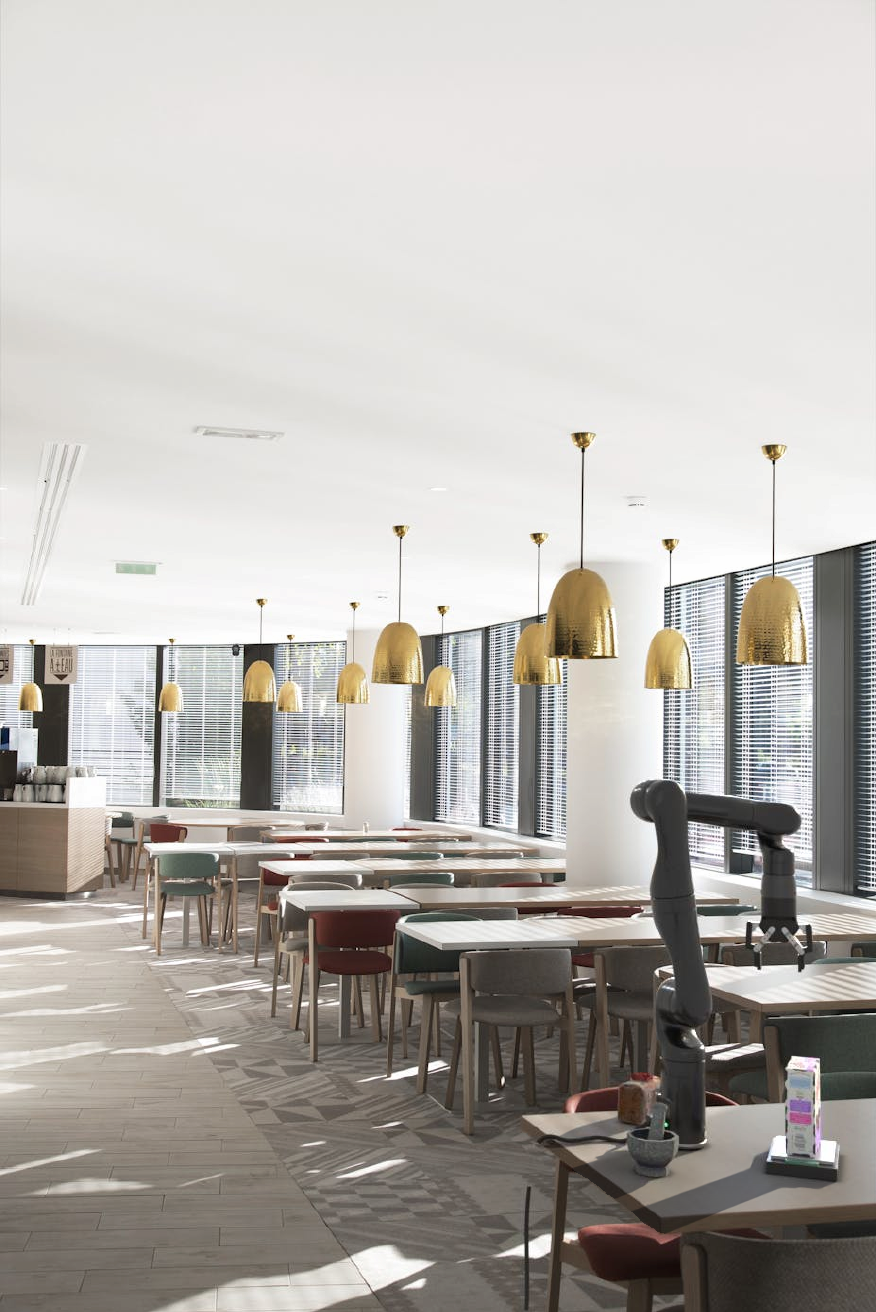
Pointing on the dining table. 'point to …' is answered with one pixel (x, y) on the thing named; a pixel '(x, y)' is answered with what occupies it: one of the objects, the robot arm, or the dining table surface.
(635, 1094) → the food item
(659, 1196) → the dining table surface
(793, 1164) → the scale
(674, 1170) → the dining table surface
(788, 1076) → the candy box
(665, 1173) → the mortar and pestle
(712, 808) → the robot arm
